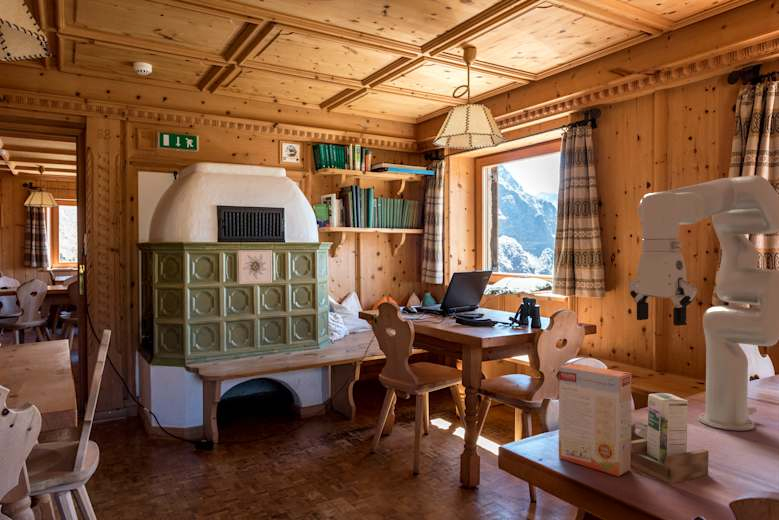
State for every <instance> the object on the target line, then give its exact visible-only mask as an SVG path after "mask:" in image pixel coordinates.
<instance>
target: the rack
mask: <svg viewBox="0 0 779 520" xmlns="http://www.w3.org/2000/svg"><path fill="white" fill-rule="evenodd" d="M632 467H633V468H635V469H637V470H639V471H642V472H644V473H645V474H648V475H650V476H652V477H655V478H657V479H659V480H661V481H662V482H663V481H664V482H665V483H668V484H670V485H671V484H676V483H679V482H684V481H688V480H692V478H693V479H696V477H697V478H701V477H705V476H709V450H707V449H704V448H702V449H695V450H691V451H687V452H686V453H681V454H677V455H672V456H667V457H665V464H663V463H661V462H659V461H656V460H654V459H651V458H649V457H647V437H645V436H643V435H640V434H639V432H638V433H637V432H636V427H635V424H633V423H631V468H632Z"/></svg>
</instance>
